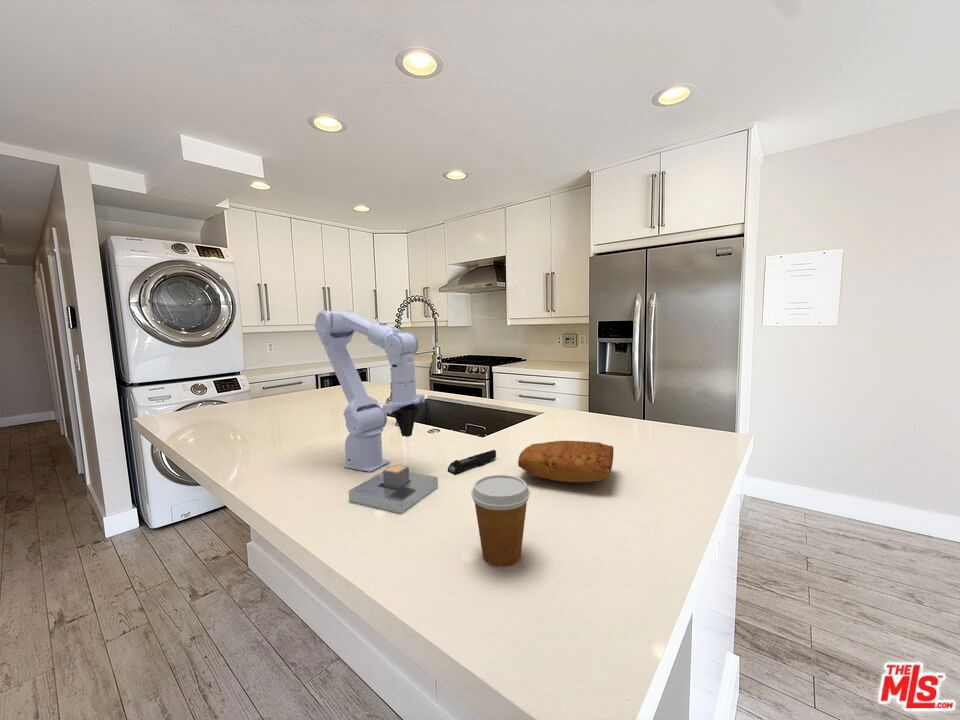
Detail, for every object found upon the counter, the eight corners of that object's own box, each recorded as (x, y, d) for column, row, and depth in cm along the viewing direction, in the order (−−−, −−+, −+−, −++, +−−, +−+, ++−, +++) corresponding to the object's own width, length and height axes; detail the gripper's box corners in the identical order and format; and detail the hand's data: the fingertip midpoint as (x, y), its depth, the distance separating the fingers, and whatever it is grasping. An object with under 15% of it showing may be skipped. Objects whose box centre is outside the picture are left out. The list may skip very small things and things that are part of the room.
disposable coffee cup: (471, 541, 70) (469, 475, 69) (524, 537, 71) (523, 472, 70) (475, 575, 61) (472, 499, 59) (536, 570, 61) (535, 495, 60)
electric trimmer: (499, 461, 110) (499, 450, 110) (455, 476, 100) (455, 464, 100) (490, 458, 113) (490, 447, 113) (446, 472, 103) (446, 460, 103)
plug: (384, 497, 89) (383, 470, 88) (395, 489, 92) (394, 464, 92) (398, 500, 87) (397, 473, 86) (409, 492, 91) (408, 466, 90)
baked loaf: (618, 471, 100) (618, 440, 99) (608, 500, 85) (608, 463, 84) (533, 460, 110) (533, 431, 109) (511, 483, 94) (510, 450, 94)
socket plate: (349, 501, 87) (348, 488, 86) (390, 478, 99) (389, 466, 99) (401, 513, 81) (400, 499, 80) (438, 487, 93) (437, 474, 93)
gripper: (398, 386, 90) (402, 445, 91) (433, 378, 103) (436, 429, 104) (374, 385, 93) (377, 442, 94) (410, 377, 106) (413, 427, 107)
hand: (406, 435), depth 99 cm, fingers closed
